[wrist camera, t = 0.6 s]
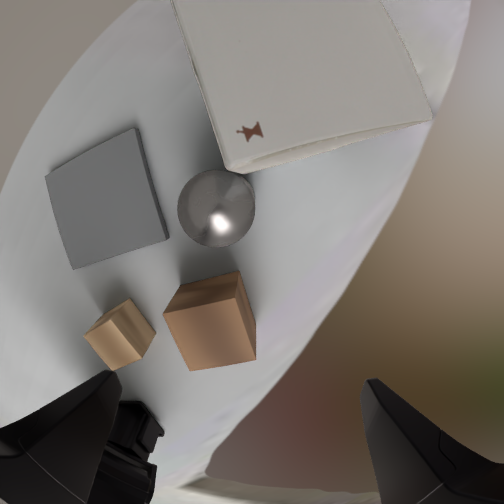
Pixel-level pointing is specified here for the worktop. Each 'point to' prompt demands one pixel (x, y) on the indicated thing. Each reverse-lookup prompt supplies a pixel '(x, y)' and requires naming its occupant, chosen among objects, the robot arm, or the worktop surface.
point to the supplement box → (298, 76)
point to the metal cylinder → (216, 208)
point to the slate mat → (106, 201)
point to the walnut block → (212, 322)
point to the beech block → (121, 335)
